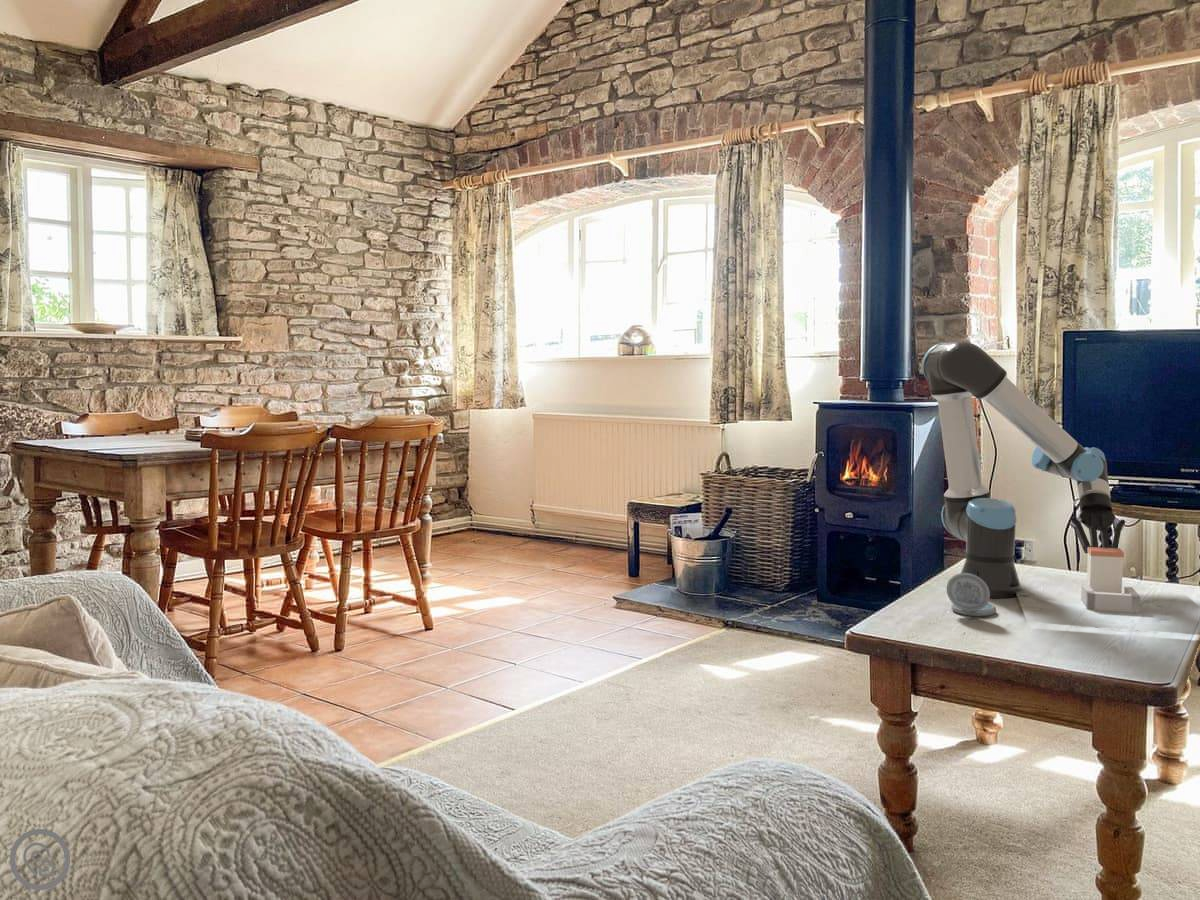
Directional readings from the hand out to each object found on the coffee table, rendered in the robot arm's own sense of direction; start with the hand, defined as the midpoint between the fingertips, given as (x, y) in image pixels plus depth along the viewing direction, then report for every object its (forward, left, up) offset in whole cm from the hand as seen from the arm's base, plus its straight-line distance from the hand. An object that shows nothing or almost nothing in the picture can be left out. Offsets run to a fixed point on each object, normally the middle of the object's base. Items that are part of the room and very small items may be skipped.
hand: (1103, 575), depth 247 cm
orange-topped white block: (-1, -4, -5) cm, 6 cm away
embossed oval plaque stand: (-35, -17, -6) cm, 39 cm away
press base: (-2, -9, -6) cm, 11 cm away
